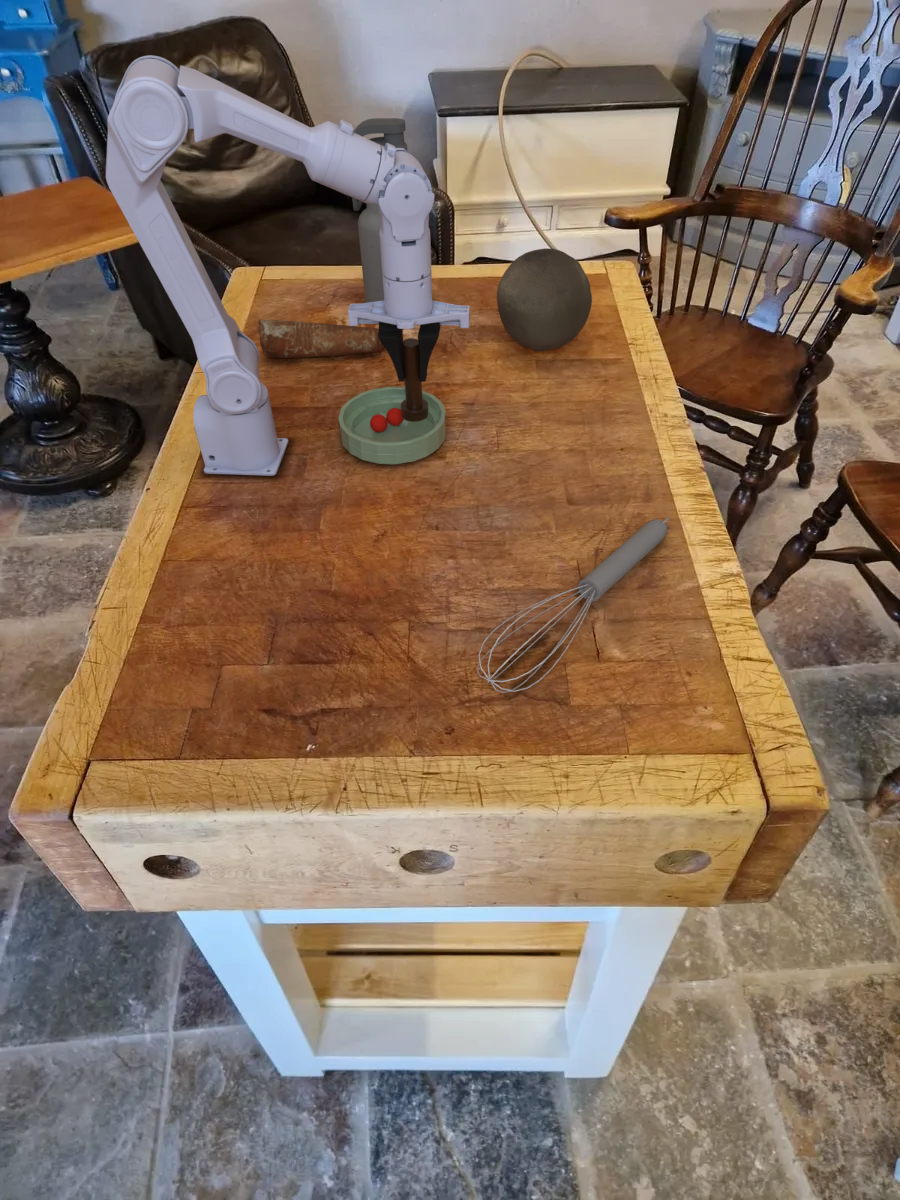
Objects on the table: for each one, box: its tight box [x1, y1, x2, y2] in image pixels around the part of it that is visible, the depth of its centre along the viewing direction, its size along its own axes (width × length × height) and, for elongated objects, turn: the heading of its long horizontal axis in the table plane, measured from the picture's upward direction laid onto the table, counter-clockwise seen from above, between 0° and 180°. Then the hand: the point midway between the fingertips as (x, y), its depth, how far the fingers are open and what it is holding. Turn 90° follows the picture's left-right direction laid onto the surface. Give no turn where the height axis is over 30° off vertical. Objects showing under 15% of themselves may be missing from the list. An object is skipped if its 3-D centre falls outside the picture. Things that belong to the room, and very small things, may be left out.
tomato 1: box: [370, 414, 388, 432], centre depth 108 cm, size 2×2×2 cm
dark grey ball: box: [496, 247, 593, 353], centre depth 120 cm, size 14×14×15 cm
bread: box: [257, 318, 384, 359], centre depth 123 cm, size 6×19×6 cm, turn 92°
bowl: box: [337, 386, 447, 465], centre depth 107 cm, size 14×14×4 cm
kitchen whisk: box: [476, 516, 671, 694], centre depth 83 cm, size 6×34×6 cm, turn 140°
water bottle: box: [351, 117, 408, 303], centre depth 126 cm, size 10×10×28 cm
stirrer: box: [401, 337, 428, 422], centre depth 102 cm, size 4×4×10 cm
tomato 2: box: [386, 408, 404, 426], centre depth 109 cm, size 2×2×2 cm
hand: (412, 377), depth 102 cm, fingers closed on stirrer, 2 cm apart
